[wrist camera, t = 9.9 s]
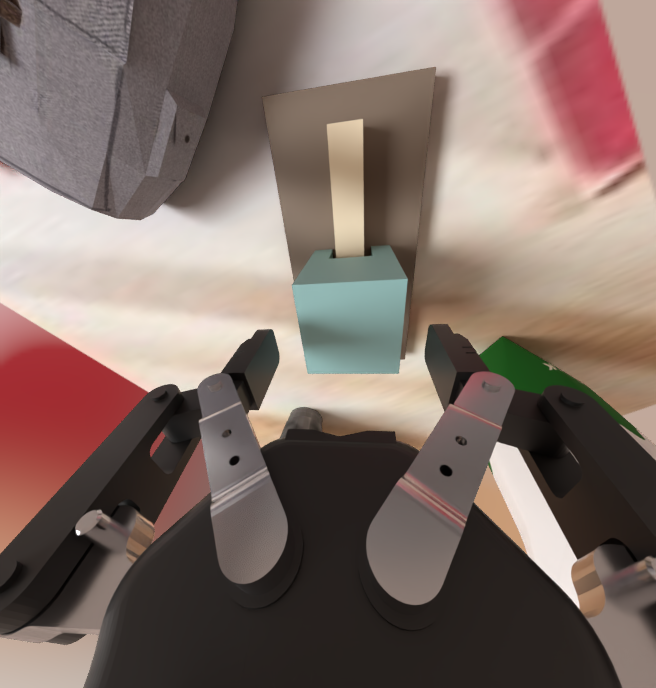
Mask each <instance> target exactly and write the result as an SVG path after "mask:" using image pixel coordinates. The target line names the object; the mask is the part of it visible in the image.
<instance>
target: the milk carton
mask: <svg viewBox="0 0 656 688" xmlns="http://www.w3.org/2000/svg"><path fill="white" fill-rule="evenodd" d="M479 356H480V358H481V359H482V360H483V362H484V363H485V365H486V366H487V367H488V369H489V370H490V372H492V373H496V374H498V375H501V376H503V377H505V378H506V379H508V380H509V381H510V382H511V383H512V384H513V386H514V388H515V389H518V390H522V391H527V392H532V393H537V394H542V393H543V391H544V389H545V388H546V387H548V386H552V385H561V386H567V387H571V388H574V389H577V390H579V391H581V392H583V393H585V394H587V395H589V396H590V397H592V398H593V399H594V400H595V401H597V402H598V403H599V404H600V405H601V406H602V407H603V408H604V409H605V410H606V411H607V412H608V413H609V414H610V415H611V416H612V417H613V418H614V419H615V420H616V421H617V422H618V423H619V424H620V425H621V426H622V427H623V428H624V429H625V430H626V431H627V432H628V433H629V434H630V435H631V436H632V437H633V438H634V439H635V440H636V441H637V442H638V443H639V444H640V445H641V446H642V447H643V448H644V449H645V450H646V451H647V452H648V453H649V454H650V455H651V456H652V457H653V458H654V459H655V460H656V445H655V444H654V443H652V442H651V441H650V440H649V439H648V438H646V437H645V436H644V435H643V434H642V433H641V432H640V431H639V430H637V429H636V428H635V427H634V426H633V425H632V424H631V423H629V422H628V421H627V420H626V419H625V418H623V416H621V415H620V414H619V413H618V412H617V411H616V410H614V409H613V408H612V407H611V406H610V405H609V404H608V403H606V402H605V401H604V400H603V399H602V398H601V397H599V396H598V395H597V394H596V393H595V392H593V391H592V390H591V389H590V388H589V387H587V386H586V385H584V384H583V383H581V382H580V381H578V380H576V379H575V378H573V377H572V376H570V375H568V374H567V373H565V372H563V371H562V370H560V369H558V368H557V367H555V366H553V365H552V364H550V363H548V362H547V361H545V360H543V359H541V358H540V357H538V356H536V355H534V354H533V353H531V352H529V351H527V350H526V349H524V348H522V347H521V346H519V345H517V344H515V343H514V342H512V341H510V340H508V339H507V338H505V337H503V336H502V337H501V338H500V339H498V340H497V341H496V342H495V343H494V344H492V345H491V346H490V347H489V348H488V349H486V350H485V351H484V352H483V353H482V354H480V355H479ZM570 452H571V451H570ZM572 455H573V454H572ZM575 459H576V458H575ZM577 462H578V461H577ZM488 465H489V468H490V469H491V472H492V474H493V476H494V478H495V481H496V482H497V485H498V487H499V489H500V491H501V493H502V496H503V498H504V500H505V502H506V504H507V506H508V508H509V511H510V513H511V515H512V517H513V519H514V521H515V523H516V526H517V528H518V530H519V532H520V534H521V537H522V540H523V542H524V545H525V548H526V551H527V555H528V556H529V557H530V558H531V559H532V560H533V561H534V562H535V563H536V564H537V565H538V566H539V567H540V568H541V569H542V570H543V571H544V572H545V573H546V574H547V575H548V576H549V577H550V578H551V579H552V580H553V581H554V582H555V583H556V584H557V585H558V586H559V587H560V588H561V589H562V590H563V591H564V592H565V593H566V594H567V595H568V596H569V597H570V598H571V599H572V601H573V602H574V603H575V604H576V605H577V607H578V608H579V601H578V597H577V593H576V590H575V588H574V585H573V582H572V578H571V569H572V566H573V564H574V563H575V562H576V561H577V558H576V556H575V555H574V553H573V551H572V549H571V547H570V545H569V543H568V541H567V540H566V538H565V536H564V534H563V532H562V530H561V528H560V527H559V525H558V523H557V521H556V519H555V517H554V515H553V513H552V512H551V510H550V508H549V506H548V504H547V502H546V500H545V498H544V497H543V495H542V493H541V491H540V489H539V487H538V485H537V484H536V482H535V480H534V478H533V476H532V474H531V472H530V470H529V469H528V467H527V465H526V463H525V461H524V459H523V457H522V455H521V454H520V452H519V450H518V448H516V447H513V446H509V445H506V444H502V443H499V442H496V445H495V447H494V450H493V453H492V455H491V458H490V460H489V463H488ZM579 609H580V608H579Z"/></svg>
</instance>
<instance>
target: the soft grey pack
mask: <svg viewBox="0 0 656 688" xmlns="http://www.w3.org/2000/svg"><path fill="white" fill-rule="evenodd" d="M237 1H238V0H0V161H1V162H3V163H5V164H6V165H8V166H10V167H11V168H13V169H15V170H17V171H18V172H20V173H22V174H23V175H25V176H27V177H28V178H30V179H32V180H33V181H35V182H37V183H38V184H40V185H42V186H43V187H45V188H47V189H48V190H50V191H52V192H54V193H56V194H58V195H61V196H63V197H65V198H67V199H69V200H72V201H74V202H76V203H78V204H80V205H82V206H85V207H87V208H89V209H91V210H94V211H97V212H100V213H103V214H105V215H108V216H111V217H114V218H117V219H132V220H142V219H144V218H146V217H148V216H150V215H152V214H154V213H155V212H156V210H157V209H158V208H159V207H160V206H161V205H162V204H163V203H164V201H165V200H166V199H167V198H168V197H169V196H170V195H171V194H172V192H173V191H174V190H175V189H176V188H177V187H178V186H179V185H180V184H181V182H182V181H184V180H185V178H186V176H187V173H188V170H189V167H190V164H191V162H192V159H193V156H194V153H195V151H196V148H197V145H198V142H199V140H200V137H201V134H202V131H203V128H204V126H205V123H206V120H207V117H208V114H209V111H210V108H211V104H212V101H213V98H214V94H215V91H216V88H217V84H218V81H219V78H220V74H221V71H222V68H223V64H224V61H225V58H226V54H227V51H228V47H229V44H230V41H231V37H232V34H233V31H234V25H235V17H236V9H237Z"/></svg>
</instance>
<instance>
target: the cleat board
mask: <svg viewBox="0 0 656 688" xmlns="http://www.w3.org/2000/svg"><path fill="white" fill-rule="evenodd" d="M435 73H436V67H431V68H426V69H420V70H414V71H408V72H403V73H397V74H391V75H385V76H379V77H374V78H368V79H362V80H356V81H351V82H345V83H339V84H333V85H327V86H322V87H316V88H310V89H304V90H298V91H293V92H287V93H281V94H275V95H270V96H264V97H262V102H263V107H264V113H265V119H266V124H267V130H268V136H269V142H270V147H271V153H272V159H273V164H274V170H275V176H276V182H277V187H278V193H279V199H280V205H281V210H282V216H283V222H284V227H285V233H286V239H287V245H288V250H289V256H290V262H291V267H292V273H293V279H294V281H295V280H296V278H297V277H298V275H299V274H300V272H301V271H302V269H303V268H304V266H305V265H306V263H307V262H308V260H309V259H310V257H311V256H312V254H313V253H314V251H316V250H329V249H333V259H334V258H349V257H363V256H371V246H383V245H390V247H391V249H392V250H393V252H394V254H395V256H396V258H397V260H398V262H399V264H400V265H401V267H402V269H403V271H404V273H405V275H406V277H407V278H408V281H407V292H406V303H405V313H404V324H403V334H402V345H401V355H400V359H405V353H406V343H407V334H408V325H409V315H410V306H411V297H412V287H413V278H414V269H415V259H416V250H417V241H418V231H419V222H420V213H421V203H422V194H423V185H424V175H425V166H426V157H427V147H428V138H429V129H430V119H431V110H432V101H433V91H434V82H435Z"/></svg>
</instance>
